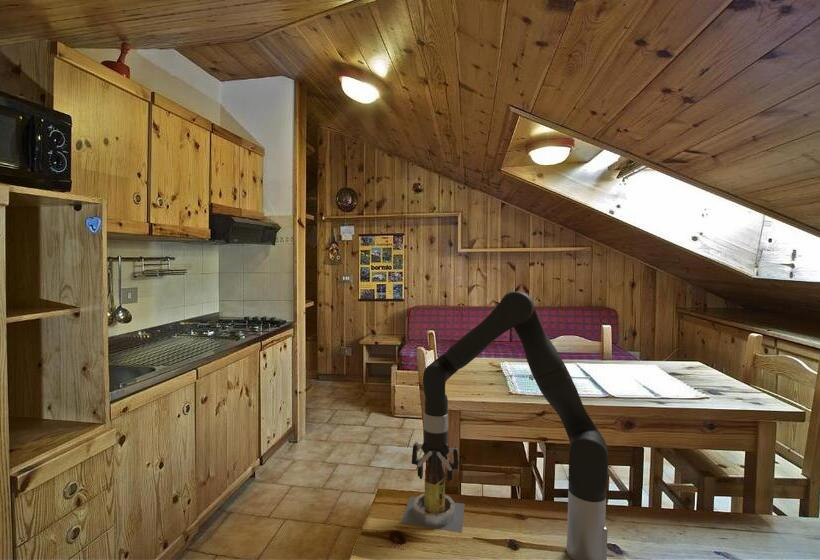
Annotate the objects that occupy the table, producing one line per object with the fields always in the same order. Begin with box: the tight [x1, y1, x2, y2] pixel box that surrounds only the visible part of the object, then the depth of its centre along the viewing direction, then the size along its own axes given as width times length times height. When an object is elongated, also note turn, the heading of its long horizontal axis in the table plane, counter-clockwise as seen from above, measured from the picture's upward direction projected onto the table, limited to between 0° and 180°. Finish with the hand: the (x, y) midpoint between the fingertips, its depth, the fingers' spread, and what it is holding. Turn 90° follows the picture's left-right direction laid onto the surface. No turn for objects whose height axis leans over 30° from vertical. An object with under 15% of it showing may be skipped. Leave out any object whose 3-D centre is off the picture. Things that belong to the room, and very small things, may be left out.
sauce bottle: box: [424, 451, 446, 514], centre depth 120 cm, size 6×6×20 cm
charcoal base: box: [400, 496, 466, 534], centre depth 120 cm, size 18×14×1 cm
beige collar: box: [413, 492, 456, 527], centre depth 120 cm, size 12×12×3 cm
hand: (434, 479), depth 120 cm, fingers open, 8 cm apart
